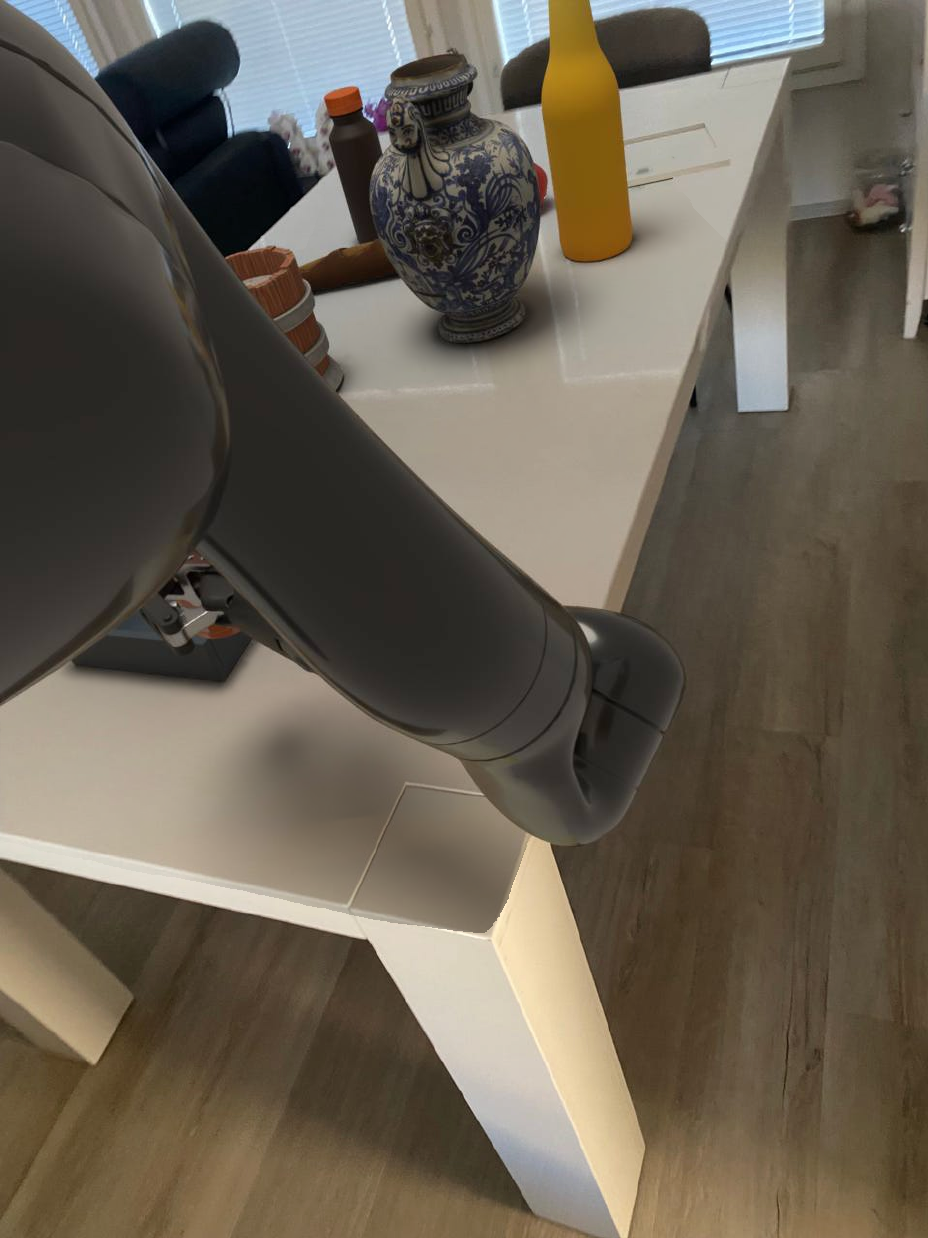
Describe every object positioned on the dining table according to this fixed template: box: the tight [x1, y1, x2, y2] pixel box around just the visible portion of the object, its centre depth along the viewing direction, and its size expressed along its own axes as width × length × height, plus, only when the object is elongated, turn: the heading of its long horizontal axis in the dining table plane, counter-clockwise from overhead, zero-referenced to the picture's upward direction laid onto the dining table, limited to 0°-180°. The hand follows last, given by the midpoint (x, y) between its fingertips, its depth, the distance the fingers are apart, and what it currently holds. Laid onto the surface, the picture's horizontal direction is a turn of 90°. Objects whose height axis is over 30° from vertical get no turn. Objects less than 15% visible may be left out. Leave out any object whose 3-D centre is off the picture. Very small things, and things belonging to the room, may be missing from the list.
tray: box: [70, 599, 253, 682], centre depth 84 cm, size 17×16×4 cm
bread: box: [298, 238, 399, 292], centre depth 130 cm, size 38×5×5 cm, turn 91°
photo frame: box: [624, 123, 731, 188], centre depth 141 cm, size 15×1×18 cm
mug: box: [224, 245, 344, 392], centre depth 107 cm, size 14×19×15 cm
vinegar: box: [323, 85, 384, 245], centre depth 136 cm, size 7×7×20 cm
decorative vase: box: [369, 46, 542, 344], centre depth 105 cm, size 21×19×28 cm
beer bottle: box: [540, 0, 633, 263], centre depth 114 cm, size 9×9×29 cm
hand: (167, 525), depth 62 cm, fingers closed on tumbler, 5 cm apart
